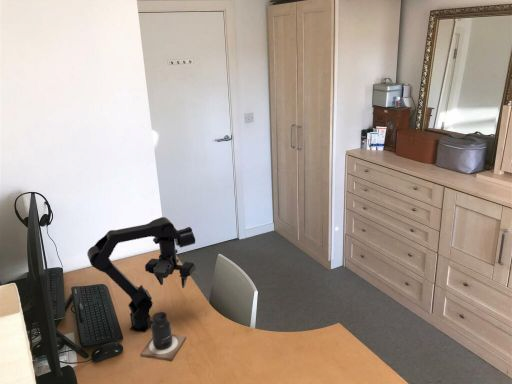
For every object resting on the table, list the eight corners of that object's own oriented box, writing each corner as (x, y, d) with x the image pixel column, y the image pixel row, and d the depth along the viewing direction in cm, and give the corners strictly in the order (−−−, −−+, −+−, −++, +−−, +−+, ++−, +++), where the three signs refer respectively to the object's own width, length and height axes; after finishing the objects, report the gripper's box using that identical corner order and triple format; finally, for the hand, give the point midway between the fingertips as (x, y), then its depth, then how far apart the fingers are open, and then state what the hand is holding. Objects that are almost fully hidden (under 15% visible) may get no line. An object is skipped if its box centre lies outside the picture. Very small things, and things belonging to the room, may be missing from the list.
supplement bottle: (168, 351, 155) (164, 322, 151) (150, 349, 156) (145, 321, 152) (175, 338, 161) (172, 310, 157) (158, 337, 163) (153, 309, 158)
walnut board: (140, 355, 156) (140, 353, 155) (156, 333, 166) (156, 331, 166) (172, 361, 152) (171, 358, 152) (186, 338, 163) (185, 335, 163)
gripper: (134, 258, 162) (140, 294, 168) (181, 263, 157) (185, 301, 163) (149, 244, 172) (155, 279, 178) (194, 248, 167) (198, 284, 173)
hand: (172, 286), depth 173 cm, fingers open, 9 cm apart
